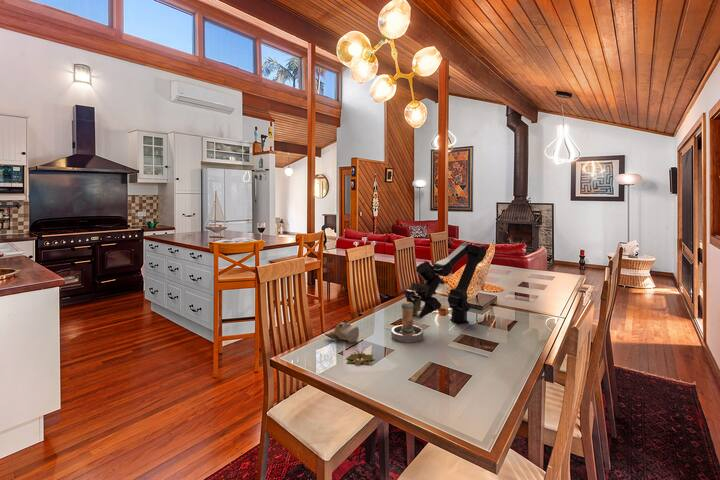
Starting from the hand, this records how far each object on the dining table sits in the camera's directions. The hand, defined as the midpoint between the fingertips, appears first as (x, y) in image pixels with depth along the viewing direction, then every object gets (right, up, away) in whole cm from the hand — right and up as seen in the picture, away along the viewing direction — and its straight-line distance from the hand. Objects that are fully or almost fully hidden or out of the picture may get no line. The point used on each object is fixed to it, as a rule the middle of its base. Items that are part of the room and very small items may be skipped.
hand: (412, 315), depth 167 cm
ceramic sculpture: (-29, -10, -2) cm, 31 cm away
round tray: (-2, -9, 0) cm, 9 cm away
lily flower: (-23, -13, -22) cm, 34 cm away
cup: (+5, -6, +30) cm, 31 cm away
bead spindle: (-2, -8, 0) cm, 8 cm away
